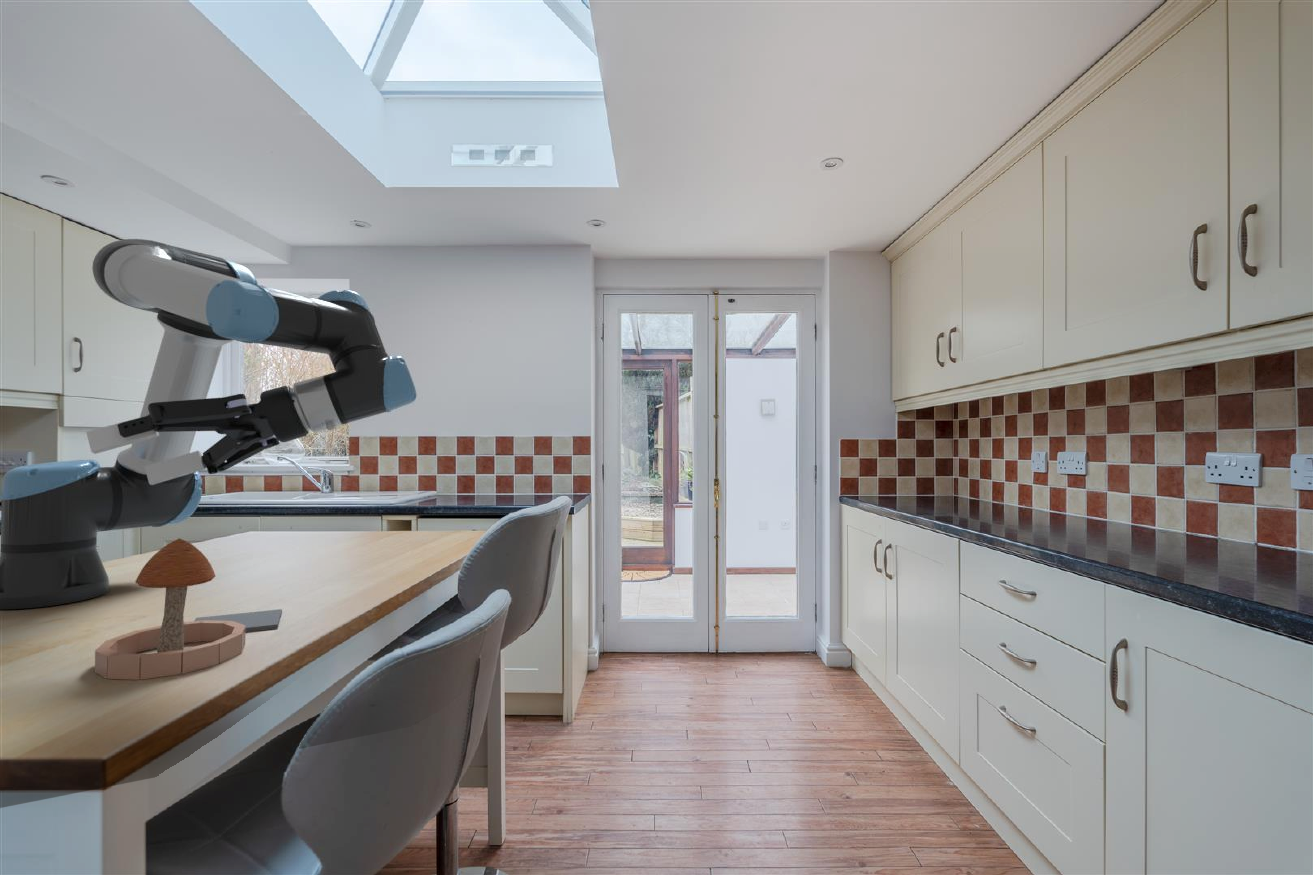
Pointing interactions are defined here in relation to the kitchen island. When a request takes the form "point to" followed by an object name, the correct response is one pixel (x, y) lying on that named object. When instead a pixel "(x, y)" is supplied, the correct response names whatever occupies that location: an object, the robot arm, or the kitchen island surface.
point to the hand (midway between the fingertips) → (121, 460)
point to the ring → (124, 664)
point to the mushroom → (175, 586)
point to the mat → (251, 619)
